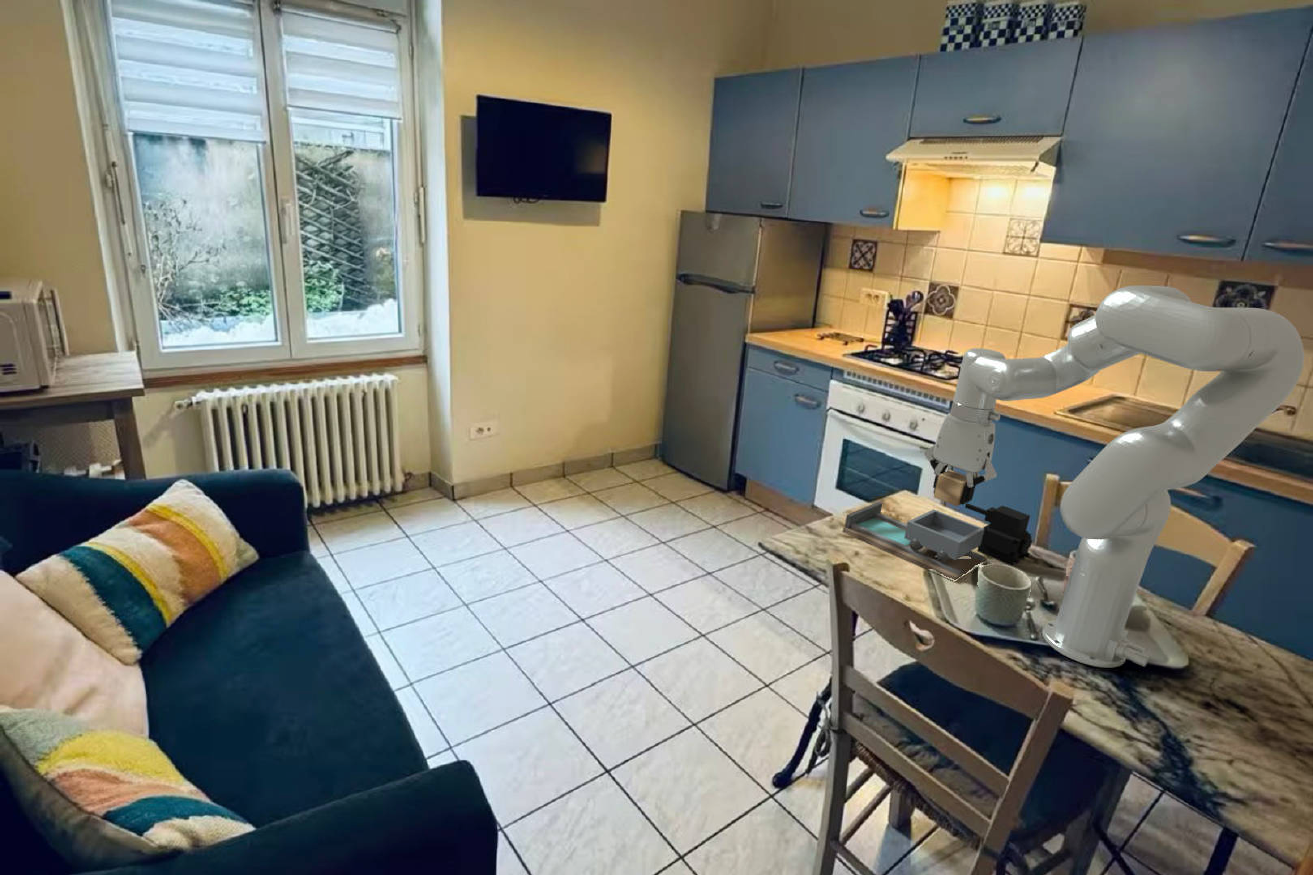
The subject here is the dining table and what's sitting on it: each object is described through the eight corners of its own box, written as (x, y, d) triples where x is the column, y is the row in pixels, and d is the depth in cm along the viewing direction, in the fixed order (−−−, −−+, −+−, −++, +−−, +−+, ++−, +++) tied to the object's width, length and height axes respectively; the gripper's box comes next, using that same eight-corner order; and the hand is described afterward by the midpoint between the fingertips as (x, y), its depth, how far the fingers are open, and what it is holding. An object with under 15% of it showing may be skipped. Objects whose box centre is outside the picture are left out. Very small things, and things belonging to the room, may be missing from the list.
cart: (978, 552, 149) (984, 528, 147) (953, 567, 142) (959, 542, 140) (928, 531, 157) (933, 509, 155) (902, 545, 149) (907, 521, 148)
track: (986, 562, 150) (990, 545, 148) (954, 582, 141) (959, 564, 139) (876, 516, 167) (879, 501, 166) (842, 531, 158) (845, 515, 157)
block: (968, 500, 146) (973, 478, 144) (956, 506, 142) (962, 483, 141) (945, 492, 149) (950, 469, 147) (933, 497, 146) (938, 474, 144)
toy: (966, 533, 163) (976, 493, 160) (1029, 559, 153) (1041, 516, 150) (950, 541, 158) (959, 500, 155) (1014, 568, 148) (1026, 525, 145)
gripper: (1023, 422, 136) (1000, 508, 142) (940, 398, 148) (921, 479, 154) (1007, 428, 131) (983, 518, 137) (921, 403, 143) (903, 487, 149)
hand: (951, 496), depth 146 cm, fingers closed on block, 4 cm apart
